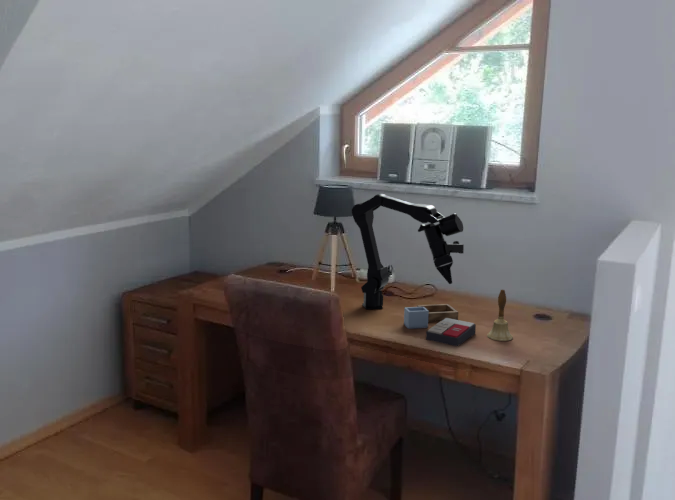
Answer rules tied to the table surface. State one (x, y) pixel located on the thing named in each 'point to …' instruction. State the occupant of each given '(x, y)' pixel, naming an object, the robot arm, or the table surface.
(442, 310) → the walnut crate
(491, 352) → the table surface
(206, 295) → the table surface
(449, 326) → the grey and red box
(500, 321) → the hand bell
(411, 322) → the small crate
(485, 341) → the table surface
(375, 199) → the robot arm
